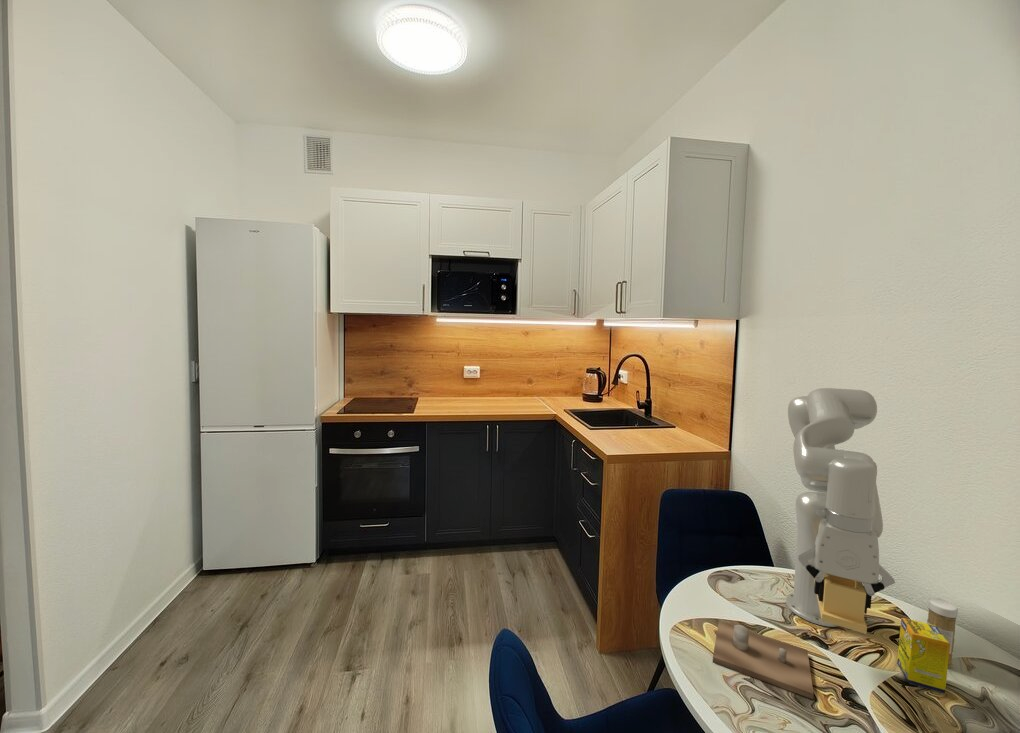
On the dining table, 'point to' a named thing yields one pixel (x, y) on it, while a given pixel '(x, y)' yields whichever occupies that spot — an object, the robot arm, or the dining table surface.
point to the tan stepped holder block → (843, 603)
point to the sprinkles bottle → (943, 620)
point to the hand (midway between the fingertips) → (841, 603)
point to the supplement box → (923, 655)
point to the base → (763, 658)
